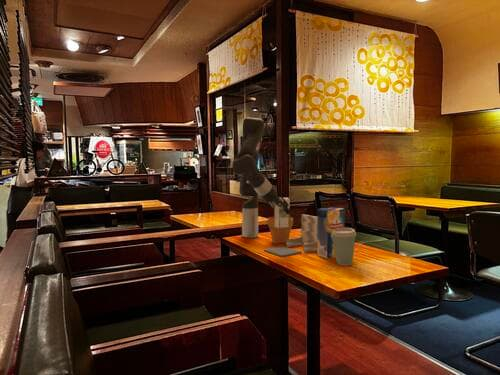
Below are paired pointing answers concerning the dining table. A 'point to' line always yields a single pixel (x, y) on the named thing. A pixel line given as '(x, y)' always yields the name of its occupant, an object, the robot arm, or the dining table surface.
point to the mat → (282, 251)
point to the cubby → (306, 234)
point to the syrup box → (281, 216)
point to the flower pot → (279, 231)
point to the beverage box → (328, 229)
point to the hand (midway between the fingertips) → (284, 211)
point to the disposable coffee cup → (344, 245)
